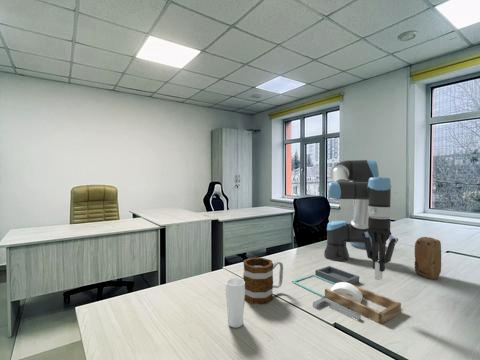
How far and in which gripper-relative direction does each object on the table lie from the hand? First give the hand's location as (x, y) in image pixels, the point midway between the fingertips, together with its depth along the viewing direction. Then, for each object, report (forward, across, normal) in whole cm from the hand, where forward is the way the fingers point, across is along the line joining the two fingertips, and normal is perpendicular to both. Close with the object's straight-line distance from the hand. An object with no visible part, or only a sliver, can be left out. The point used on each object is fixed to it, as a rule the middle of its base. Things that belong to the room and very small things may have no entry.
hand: (378, 278), depth 96 cm
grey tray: (+13, -28, +14) cm, 34 cm away
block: (+13, -4, +57) cm, 59 cm away
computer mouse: (+13, -14, +1) cm, 19 cm away
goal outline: (+13, -28, 0) cm, 31 cm away
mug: (+13, -35, -28) cm, 47 cm away
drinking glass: (+14, -24, -50) cm, 57 cm away
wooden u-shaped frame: (+13, -7, 0) cm, 15 cm away
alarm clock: (+12, -53, +84) cm, 100 cm away
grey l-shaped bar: (+13, -9, -14) cm, 21 cm away
